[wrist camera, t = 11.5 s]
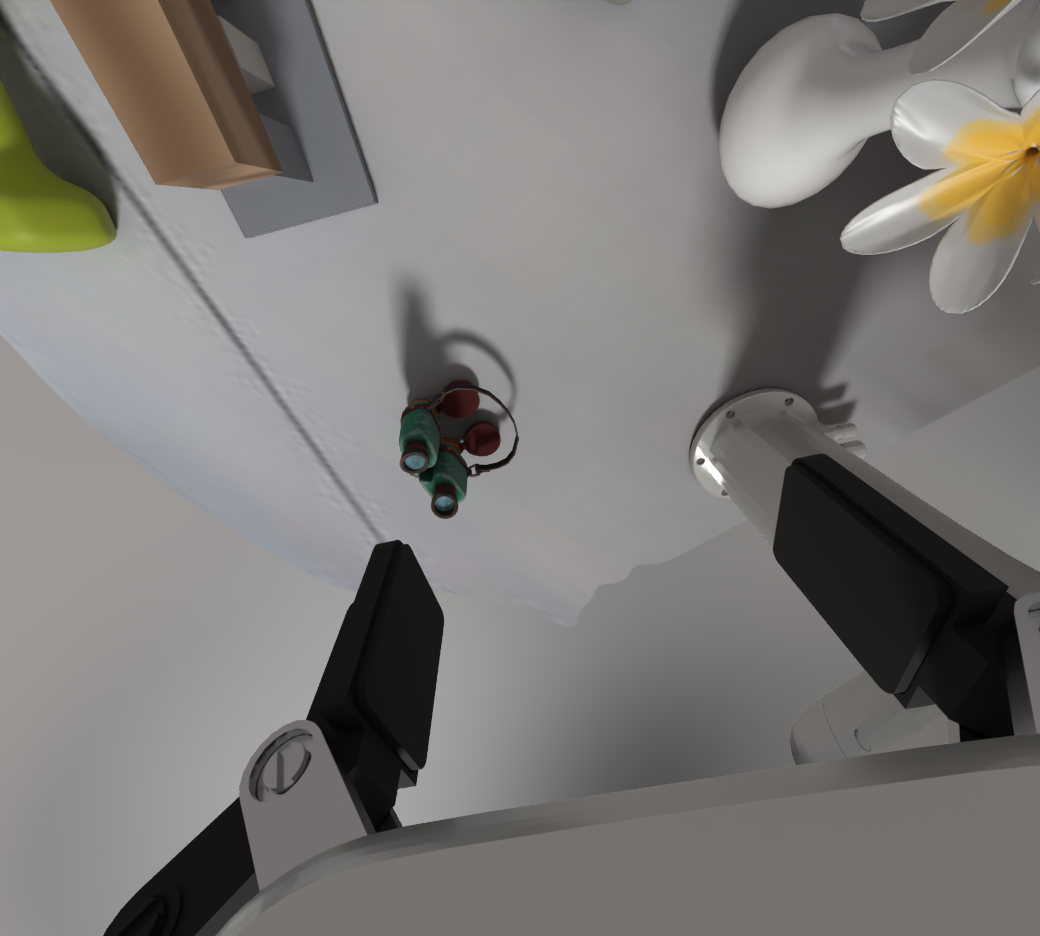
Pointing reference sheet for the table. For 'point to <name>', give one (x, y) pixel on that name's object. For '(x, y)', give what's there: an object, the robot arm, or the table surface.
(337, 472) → the table surface
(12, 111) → the dumbbell
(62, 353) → the table surface
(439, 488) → the binoculars
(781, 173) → the flower vase
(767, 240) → the table surface
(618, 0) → the digital clock
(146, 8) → the tan bar
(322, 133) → the display stand
